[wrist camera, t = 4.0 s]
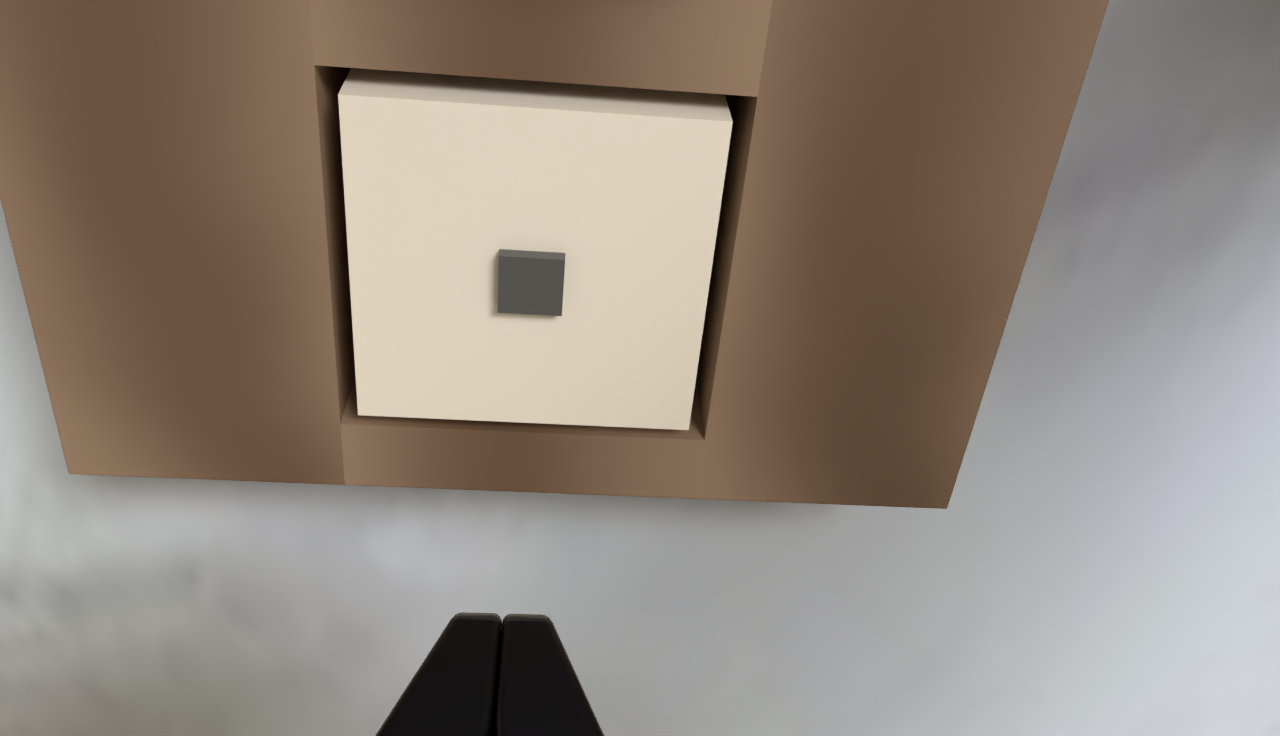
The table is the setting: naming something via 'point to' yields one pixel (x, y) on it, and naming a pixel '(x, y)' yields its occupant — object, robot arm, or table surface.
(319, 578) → the table surface
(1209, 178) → the table surface
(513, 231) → the one pip button
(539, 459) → the board
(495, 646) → the robot arm
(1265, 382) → the table surface
